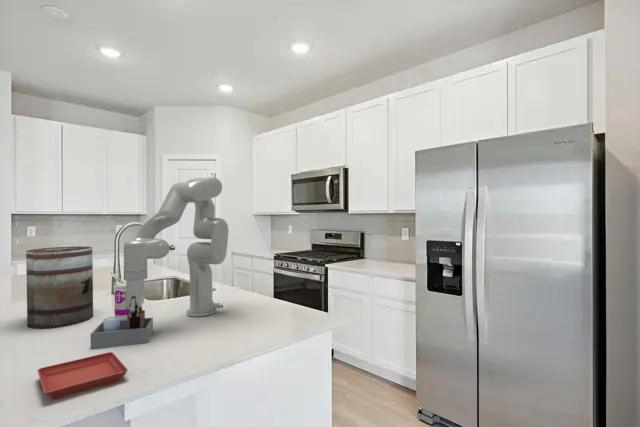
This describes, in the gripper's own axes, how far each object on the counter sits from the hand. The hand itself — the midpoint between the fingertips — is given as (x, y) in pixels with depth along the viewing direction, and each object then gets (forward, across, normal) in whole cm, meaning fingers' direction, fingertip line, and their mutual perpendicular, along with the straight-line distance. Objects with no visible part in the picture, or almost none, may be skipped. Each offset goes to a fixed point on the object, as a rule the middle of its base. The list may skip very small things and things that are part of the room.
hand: (136, 325), depth 128 cm
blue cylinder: (+4, 0, -8) cm, 9 cm away
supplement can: (+5, -25, -8) cm, 27 cm away
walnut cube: (+1, 0, 0) cm, 1 cm away
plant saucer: (+5, +31, -8) cm, 32 cm away
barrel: (+5, -34, -34) cm, 48 cm away
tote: (+5, 0, -4) cm, 6 cm away
